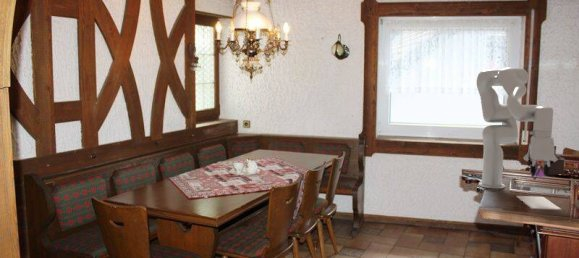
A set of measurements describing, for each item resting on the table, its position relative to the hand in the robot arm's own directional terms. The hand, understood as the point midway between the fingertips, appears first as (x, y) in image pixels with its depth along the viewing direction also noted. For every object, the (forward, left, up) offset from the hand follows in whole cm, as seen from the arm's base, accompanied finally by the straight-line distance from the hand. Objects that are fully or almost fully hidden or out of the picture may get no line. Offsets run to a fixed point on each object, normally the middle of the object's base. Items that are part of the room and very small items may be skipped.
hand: (539, 174), depth 238 cm
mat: (0, 0, -13) cm, 13 cm away
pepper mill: (-75, +31, -13) cm, 82 cm away
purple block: (-1, 0, -2) cm, 3 cm away
